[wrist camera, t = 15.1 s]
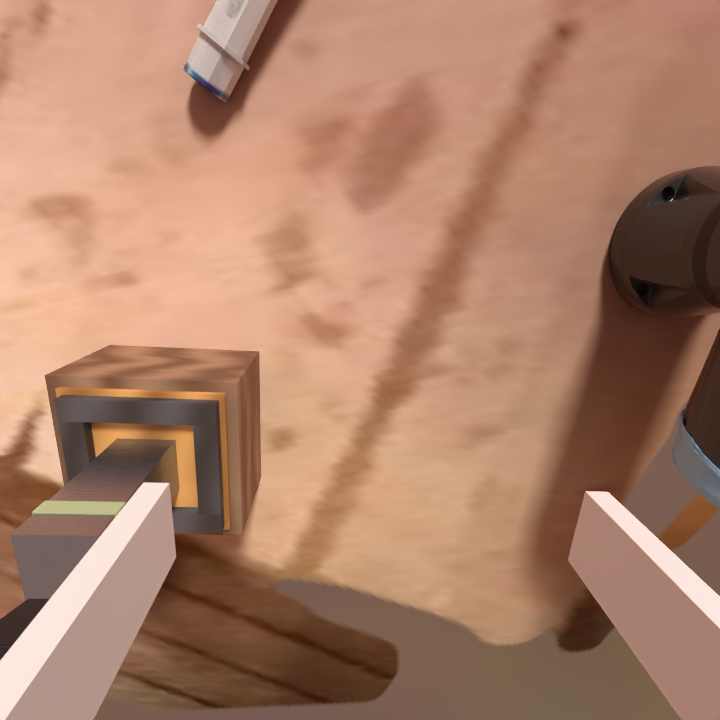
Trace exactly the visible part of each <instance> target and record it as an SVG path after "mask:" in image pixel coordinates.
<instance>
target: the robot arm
mask: <svg viewBox="0 0 720 720" xmlns="http://www.w3.org/2000/svg"><path fill="white" fill-rule="evenodd" d="M610 269H611V274H612V278H613V281H614V284H615V286H616V288H617V290H618V291H619V293H620V294H621V296H622V297H623V298H624V299H625V300H626V301H627V302H628V303H629V304H630V305H632V306H633V307H635V308H637V309H639V310H641V311H644V312H647V313H650V314H655V315H659V316H663V317H671V318H684V317H692V316H699V315H706V314H713V313H720V167H719V166H706V167H698V168H693V169H688V170H683V171H678V172H675V173H672V174H669V175H666V176H664V177H662V178H660V179H658V180H657V181H655V182H654V183H652V184H651V185H649V186H648V187H646V188H645V189H644V190H643V191H642V192H641V193H640V194H639V195H638V196H637V197H636V198H635V199H634V200H633V201H632V202H631V203H630V205H629V206H628V207H627V209H626V210H625V212H624V213H623V215H622V217H621V219H620V221H619V223H618V225H617V227H616V229H615V232H614V235H613V239H612V243H611V249H610ZM679 424H680V425H679V428H678V431H677V434H676V437H675V440H674V443H673V446H672V459H673V461H674V463H675V465H676V467H677V469H678V471H679V473H680V474H681V476H682V477H683V478H684V479H685V481H686V482H687V483H688V484H689V485H690V486H691V487H692V488H693V489H695V490H696V491H697V492H698V493H699V494H700V495H701V496H703V497H704V498H705V499H706V500H708V501H709V502H711V503H712V504H713V505H715V506H716V507H718V508H719V509H720V329H719V331H718V333H717V336H716V338H715V341H714V343H713V345H712V348H711V350H710V353H709V355H708V357H707V360H706V362H705V364H704V366H703V369H702V371H701V373H700V376H699V378H698V380H697V383H696V385H695V387H694V389H693V392H692V394H691V396H690V399H689V401H688V403H687V406H686V408H685V409H684V410H683V411H682V412H681V414H680V417H679ZM175 559H176V549H175V538H174V527H173V516H172V505H171V494H170V483H144V482H143V484H142V485H141V486H140V487H139V489H138V490H137V491H136V492H135V494H134V495H133V496H132V497H131V499H130V500H129V501H128V502H127V503H126V505H125V506H124V507H123V508H122V510H121V511H120V512H119V513H118V515H117V516H116V517H115V518H114V520H113V521H112V522H111V523H110V525H109V526H108V527H107V528H106V530H105V531H104V532H103V533H102V535H101V536H100V537H99V538H98V540H97V541H96V542H95V543H94V545H93V546H92V547H91V548H90V550H89V551H88V552H87V553H86V555H85V556H84V557H83V558H82V560H81V561H80V562H79V563H78V565H77V566H76V567H75V568H74V569H73V571H72V572H71V573H70V574H69V576H68V577H67V578H66V579H65V581H64V582H63V583H62V584H61V586H60V587H59V588H58V589H57V591H56V592H55V593H54V594H53V596H52V597H51V598H50V599H27V600H26V601H25V602H23V603H22V604H21V605H19V606H18V607H16V608H15V609H14V610H12V611H11V612H10V613H8V614H7V615H6V616H4V617H3V618H2V619H0V720H93V719H94V717H95V715H96V713H97V711H98V709H99V707H100V705H101V703H102V701H103V699H104V697H105V696H106V694H107V692H108V690H109V688H110V686H111V684H112V682H113V680H114V678H115V676H116V674H117V672H118V670H119V668H120V666H121V664H122V662H123V660H124V658H125V656H126V654H127V652H128V651H129V649H130V647H131V645H132V643H133V641H134V639H135V637H136V635H137V633H138V631H139V629H140V627H141V625H142V623H143V621H144V619H145V617H146V615H147V613H148V611H149V609H150V607H151V606H152V604H153V602H154V600H155V598H156V596H157V594H158V592H159V590H160V588H161V586H162V584H163V582H164V580H165V578H166V576H167V574H168V572H169V570H170V568H171V566H172V564H173V562H174V561H175ZM568 561H569V563H570V564H571V566H572V567H573V568H574V570H575V571H576V573H577V574H578V575H579V577H580V578H581V580H582V581H583V582H584V584H585V585H586V587H587V588H588V589H589V591H590V592H591V594H592V595H593V596H594V598H595V599H596V601H597V602H598V603H599V605H600V606H601V608H602V609H603V610H604V612H605V613H606V615H607V616H608V617H609V619H610V620H611V622H612V623H613V624H614V626H615V627H616V629H617V630H618V631H619V633H620V634H621V636H622V637H623V638H624V640H625V641H626V643H627V644H628V645H629V647H630V648H631V650H632V651H633V652H634V654H635V655H636V657H637V658H638V660H639V661H640V662H641V663H642V665H643V666H644V668H645V669H646V671H647V672H648V674H649V675H650V676H651V678H652V679H653V681H654V682H655V683H656V685H657V686H658V688H659V689H660V690H661V692H662V693H663V695H664V696H665V697H666V699H667V700H668V701H669V703H670V704H671V706H672V707H673V708H674V710H675V711H676V713H677V714H678V716H679V717H680V718H681V720H720V596H719V595H717V594H716V593H715V592H714V591H713V590H712V589H711V588H710V587H709V586H708V585H707V584H706V583H705V582H704V581H702V580H701V579H700V578H699V577H698V576H697V575H696V574H695V573H694V572H693V571H692V570H691V569H690V568H689V567H688V566H687V565H685V564H684V563H683V562H682V561H681V560H680V559H679V558H678V557H677V556H676V555H675V554H674V553H673V552H672V551H671V550H669V549H668V548H667V547H666V546H665V545H664V544H663V543H662V542H661V541H660V540H659V539H658V538H657V537H656V536H655V535H653V534H652V533H651V532H650V531H649V530H648V529H647V528H646V527H645V526H644V525H643V524H642V523H641V522H640V521H639V520H637V519H636V518H635V517H634V516H633V515H632V514H631V513H630V512H629V511H628V510H627V509H626V508H625V507H624V506H623V505H622V504H620V503H619V502H618V501H617V500H616V499H615V498H614V497H613V496H612V495H611V494H610V493H609V492H599V491H585V494H584V498H583V502H582V506H581V510H580V514H579V518H578V522H577V526H576V530H575V534H574V538H573V541H572V545H571V549H570V553H569V557H568Z"/></svg>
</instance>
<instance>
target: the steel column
mask: <svg viewBox="0 0 720 720" xmlns="http://www.w3.org/2000/svg"><path fill="white" fill-rule="evenodd" d="M143 482H144V483H170V494H171V501H172V499H173V498H174V496H175V495H176V493H177V492H178V490H179V476H178V464H177V452H176V440H158V439H122V438H117V439H116V440H115V441H114V442H113V443H112V444H110V445H109V446H108V447H107V448H106V449H105V450H104V451H103V452H102V453H101V454H99V455H98V456H97V457H96V458H95V459H94V460H93V461H92V462H91V463H89V464H88V465H87V466H86V467H85V468H84V469H83V470H82V471H81V472H79V473H78V474H77V475H76V476H75V477H74V478H73V479H72V480H71V481H70V482H68V483H67V484H66V485H65V486H64V487H63V488H62V489H61V490H60V491H58V492H57V493H56V494H55V495H54V496H53V497H52V498H51V499H50V500H48V501H44V502H43V503H42V504H41V505H40V506H38V507H37V508H36V509H35V510H34V511H33V512H32V516H31V517H30V518H29V519H27V520H26V521H25V522H24V523H23V524H22V525H21V526H20V527H19V528H17V529H16V530H15V531H14V532H13V533H12V534H11V539H12V544H13V548H14V552H15V556H16V561H17V565H18V569H19V574H20V578H21V582H22V587H23V591H24V595H25V600H27V599H50V598H51V597H52V596H53V594H54V593H55V592H56V591H57V589H58V588H59V587H60V586H61V584H62V583H63V582H64V581H65V579H66V578H67V577H68V576H69V574H70V573H71V572H72V571H73V569H74V568H75V567H76V566H77V565H78V563H79V562H80V561H81V560H82V558H83V557H84V556H85V555H86V553H87V552H88V551H89V550H90V548H91V547H92V546H93V545H94V543H95V542H96V541H97V540H98V538H99V537H100V536H101V535H102V533H103V532H104V531H105V530H106V528H107V527H108V526H109V525H110V523H111V522H112V521H113V520H114V518H115V517H116V516H117V515H118V513H119V512H120V511H121V510H122V508H123V507H124V506H125V505H126V503H127V502H128V501H129V500H130V499H131V497H132V496H133V495H134V494H135V492H136V491H137V490H138V489H139V487H140V486H141V485H142V484H143Z"/></svg>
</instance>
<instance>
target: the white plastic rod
mask: <svg viewBox="0 0 720 720" xmlns="http://www.w3.org/2000/svg"><path fill="white" fill-rule="evenodd" d="M277 1H278V0H217V1H216V3H215V5H214V7H213V9H212V11H211V13H210V15H209V17H208V18H207V20H206V22H205V24H204V26H202V25H201V24H198V26H197V28H198V29H199V30H201V32H200V34H199V37H198V39H197V41H196V43H195V45H194V47H193V49H192V52H191V54H190V56H189V58H188V60H187V62H186V64H185V67H184V69H183V70H184V71H185V72H186V73H188V74H189V75H190V76H191V77H192V78H193V79H195V80H196V81H197V82H198V83H200V84H201V85H202V86H203V87H205V88H206V89H207V90H209V91H210V92H211V93H213V94H214V95H215V96H217V97H218V98H219V99H221V100H223V101H224V102H227V100H228V99H229V97H230V95H231V93H232V91H233V89H234V87H235V85H236V83H237V81H238V79H239V77H240V75H241V74H242V72H243V70H244V68H245V69H247V70H249V68H250V66H249V65H247V62H248V60H249V58H250V56H251V54H252V52H253V50H254V48H255V46H256V44H257V42H258V40H259V37H260V35H261V33H262V31H263V29H264V27H265V25H266V23H267V21H268V19H269V17H270V15H271V13H272V11H273V9H274V7H275V5H276V3H277Z"/></svg>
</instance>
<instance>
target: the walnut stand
mask: <svg viewBox="0 0 720 720" xmlns="http://www.w3.org/2000/svg"><path fill="white" fill-rule="evenodd" d="M45 379H46V385H47V390H48V396H49V402H50V407H51V413H52V419H53V424H54V430H55V436H56V441H57V447H58V453H59V458H60V464H61V469H62V475H63V481H64V486H65V485H66V484H67V483H68V482H70V481H71V480H72V479H73V478H74V477H75V476H76V475H77V474H78V473H79V472H81V471H82V470H83V469H84V468H85V467H86V466H87V465H88V464H89V463H91V462H92V461H93V460H94V459H95V458H96V457H97V456H98V455H99V454H101V453H102V452H103V451H104V450H105V449H106V448H107V447H108V446H109V445H110V444H112V443H113V442H114V441H115V440H116V439H117V438H122V439H158V440H176V452H177V464H178V476H179V490H178V492H177V493H176V495H175V496H174V498H173V499H172V501H171V505H172V516H173V527H174V534H217V535H242V533H243V530H244V527H245V524H246V521H247V518H248V515H249V512H250V509H251V506H252V503H253V500H254V496H255V493H256V490H257V487H258V484H259V481H260V478H261V455H260V382H259V352H256V351H232V350H209V349H185V348H162V347H139V346H115V345H109V346H107V347H105V348H103V349H101V350H98V351H96V352H94V353H92V354H90V355H88V356H85V357H83V358H81V359H79V360H77V361H75V362H73V363H70V364H68V365H66V366H64V367H62V368H60V369H57V370H55V371H53V372H51V373H49V374H47V375H45Z"/></svg>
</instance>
